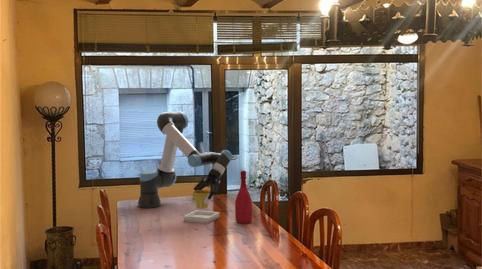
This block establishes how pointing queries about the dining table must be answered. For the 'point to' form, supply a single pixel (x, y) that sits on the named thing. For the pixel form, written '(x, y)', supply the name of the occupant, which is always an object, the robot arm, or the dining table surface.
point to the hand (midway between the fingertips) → (198, 201)
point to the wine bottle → (243, 202)
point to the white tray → (201, 216)
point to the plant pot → (200, 198)
